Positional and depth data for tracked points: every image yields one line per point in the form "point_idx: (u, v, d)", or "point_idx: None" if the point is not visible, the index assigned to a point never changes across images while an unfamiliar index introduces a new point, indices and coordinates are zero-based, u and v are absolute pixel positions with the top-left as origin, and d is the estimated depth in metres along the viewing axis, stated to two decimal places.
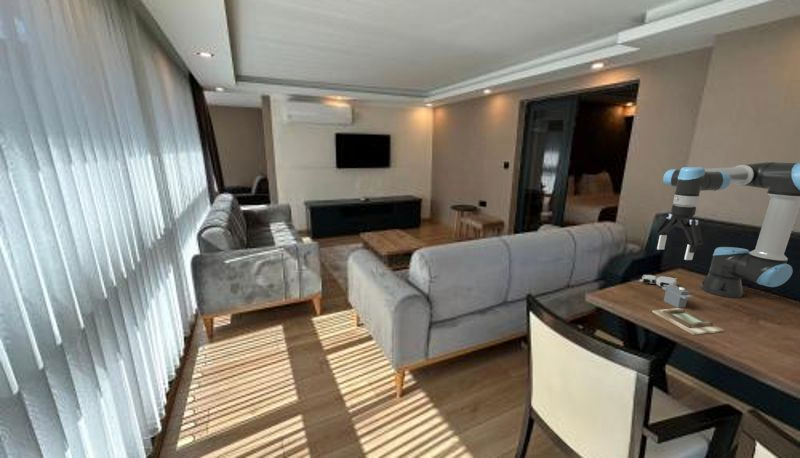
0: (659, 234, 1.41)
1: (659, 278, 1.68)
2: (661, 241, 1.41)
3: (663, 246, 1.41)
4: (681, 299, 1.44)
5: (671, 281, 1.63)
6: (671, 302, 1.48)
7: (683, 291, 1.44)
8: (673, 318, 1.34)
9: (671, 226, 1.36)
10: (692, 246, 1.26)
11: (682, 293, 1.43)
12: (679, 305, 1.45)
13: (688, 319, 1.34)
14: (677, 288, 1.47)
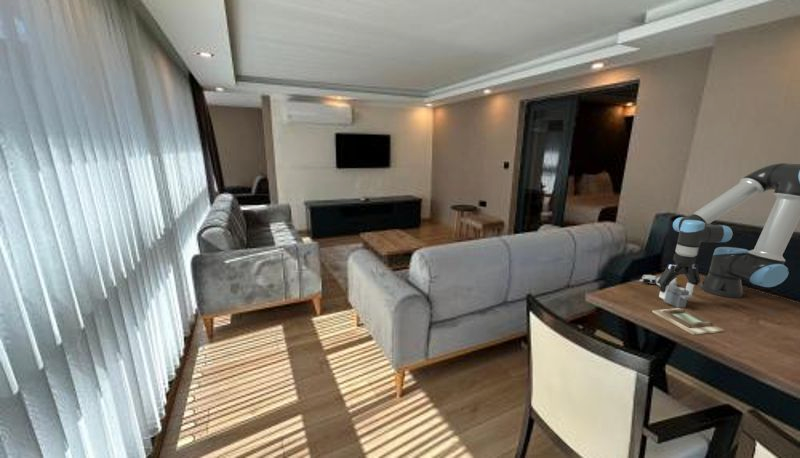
0: None
1: None
2: (687, 288, 1.48)
3: (689, 294, 1.48)
4: (681, 299, 1.44)
5: (671, 281, 1.63)
6: (671, 302, 1.48)
7: (683, 291, 1.44)
8: (673, 318, 1.34)
9: (685, 273, 1.46)
10: None
11: (682, 293, 1.43)
12: (679, 305, 1.45)
13: (688, 319, 1.34)
14: (677, 288, 1.47)
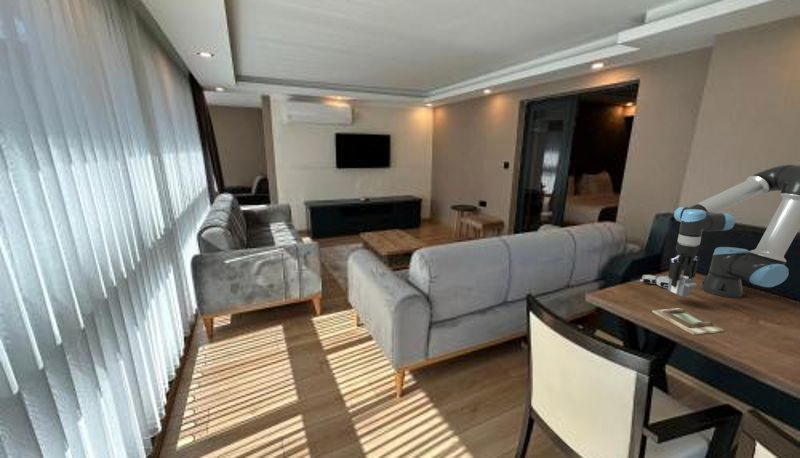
0: None
1: (659, 278, 1.68)
2: None
3: None
4: (685, 287, 1.43)
5: None
6: None
7: (687, 279, 1.42)
8: (673, 318, 1.34)
9: (685, 265, 1.45)
10: None
11: (686, 281, 1.42)
12: (683, 293, 1.43)
13: (688, 319, 1.34)
14: (681, 276, 1.45)
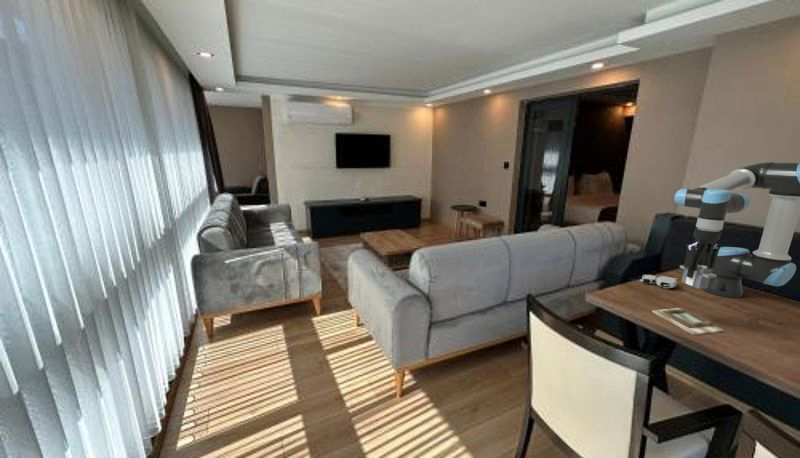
0: None
1: (659, 278, 1.68)
2: None
3: None
4: (703, 278, 1.25)
5: (671, 281, 1.63)
6: None
7: (705, 269, 1.25)
8: (673, 318, 1.34)
9: (703, 253, 1.27)
10: None
11: (704, 271, 1.25)
12: (700, 285, 1.26)
13: (688, 319, 1.34)
14: (698, 266, 1.28)
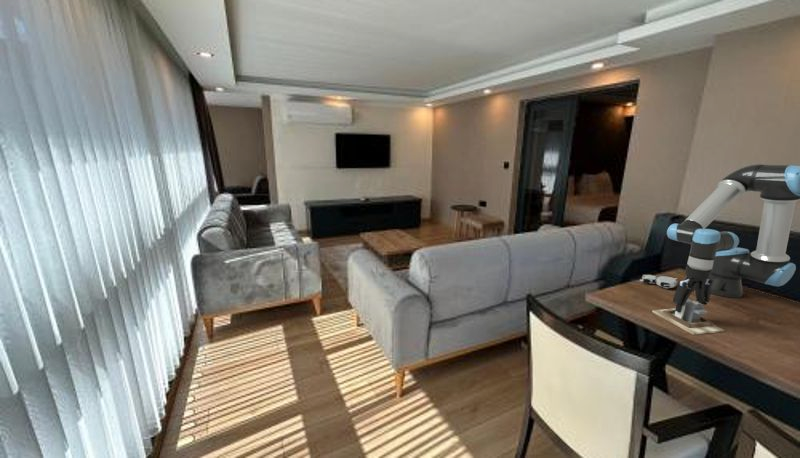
0: (697, 301, 1.34)
1: (659, 278, 1.68)
2: None
3: None
4: (694, 314, 1.29)
5: (671, 281, 1.63)
6: (683, 317, 1.33)
7: (696, 305, 1.29)
8: (673, 318, 1.34)
9: (696, 289, 1.31)
10: None
11: (695, 307, 1.28)
12: (691, 320, 1.30)
13: None
14: (689, 302, 1.32)
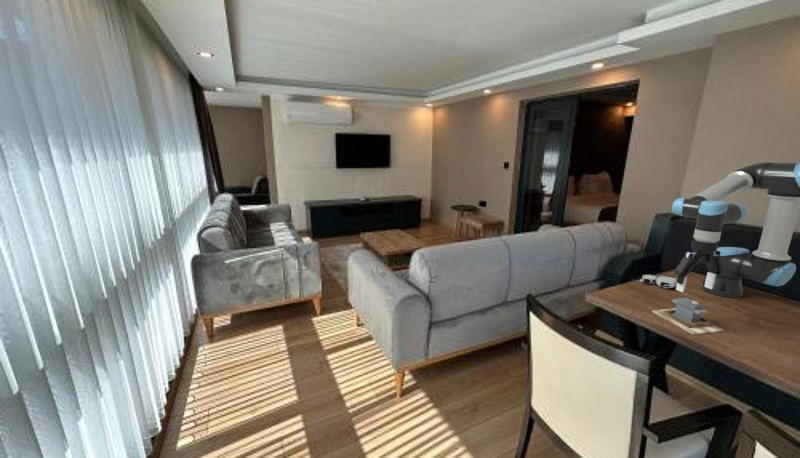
0: None
1: (659, 278, 1.68)
2: (708, 278, 1.31)
3: (710, 285, 1.30)
4: (694, 314, 1.29)
5: (671, 281, 1.63)
6: (683, 317, 1.33)
7: (696, 305, 1.29)
8: (673, 318, 1.34)
9: None
10: None
11: (695, 307, 1.28)
12: (691, 320, 1.30)
13: None
14: (689, 302, 1.32)
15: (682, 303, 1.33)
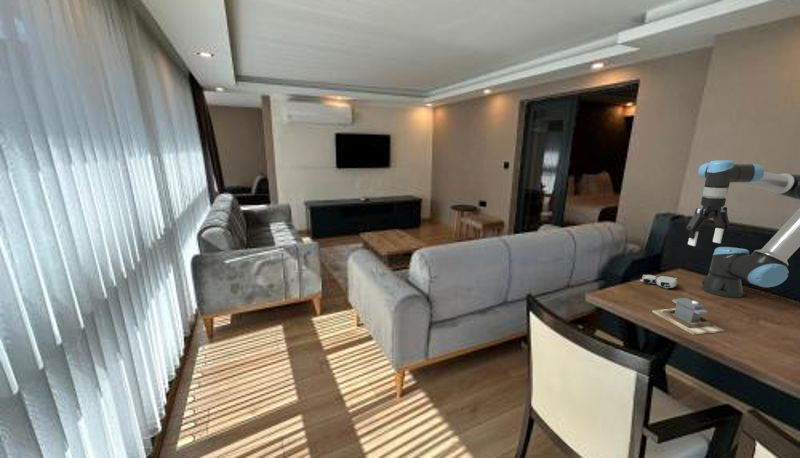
0: (718, 227, 1.43)
1: (659, 278, 1.68)
2: (716, 234, 1.43)
3: (718, 239, 1.42)
4: (694, 314, 1.29)
5: (671, 281, 1.63)
6: (683, 317, 1.33)
7: (696, 305, 1.29)
8: (673, 318, 1.34)
9: (714, 218, 1.40)
10: None
11: (695, 307, 1.28)
12: (691, 320, 1.30)
13: None
14: (689, 302, 1.32)
15: (682, 303, 1.33)
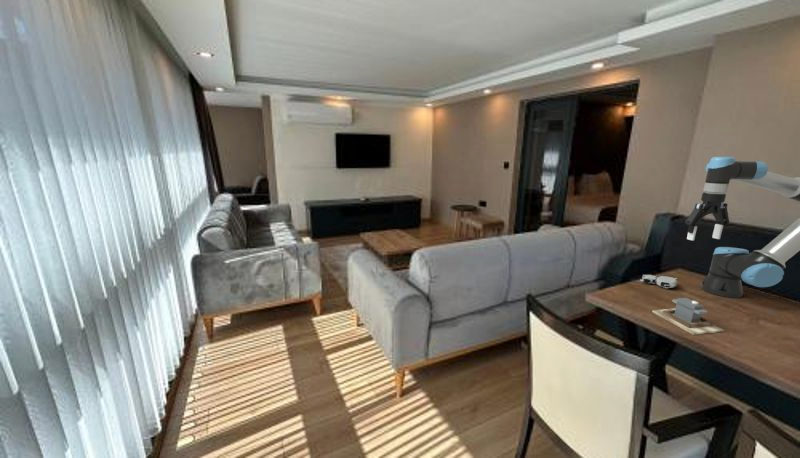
0: (718, 223, 1.45)
1: (659, 278, 1.68)
2: (715, 230, 1.45)
3: (717, 235, 1.44)
4: (694, 314, 1.29)
5: (671, 281, 1.63)
6: (683, 317, 1.33)
7: (696, 305, 1.29)
8: (673, 318, 1.34)
9: (714, 214, 1.42)
10: None
11: (695, 307, 1.28)
12: (691, 320, 1.30)
13: None
14: (689, 302, 1.32)
15: (682, 303, 1.33)
